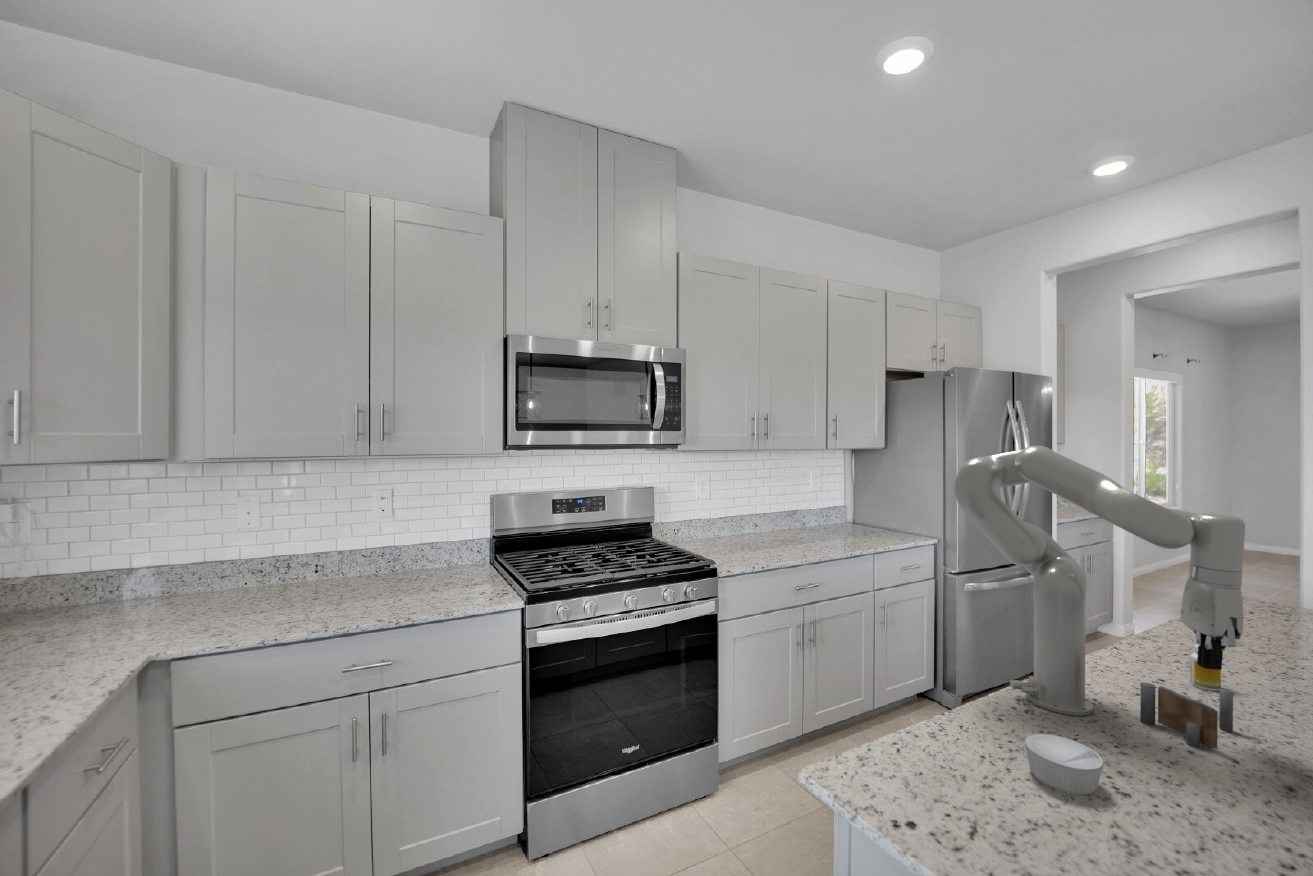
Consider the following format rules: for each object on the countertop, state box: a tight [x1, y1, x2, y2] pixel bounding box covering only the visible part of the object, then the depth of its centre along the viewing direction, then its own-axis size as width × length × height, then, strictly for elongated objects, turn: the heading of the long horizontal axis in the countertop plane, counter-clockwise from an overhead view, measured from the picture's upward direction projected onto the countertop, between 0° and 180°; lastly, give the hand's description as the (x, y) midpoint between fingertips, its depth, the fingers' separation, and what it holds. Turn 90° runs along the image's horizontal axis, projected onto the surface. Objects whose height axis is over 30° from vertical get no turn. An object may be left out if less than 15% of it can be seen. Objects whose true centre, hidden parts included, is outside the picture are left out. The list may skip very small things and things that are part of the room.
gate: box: [1157, 685, 1219, 749], centre depth 115 cm, size 10×2×8 cm, turn 8°
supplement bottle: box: [1189, 643, 1222, 692], centre depth 140 cm, size 5×5×10 cm
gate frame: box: [1139, 681, 1202, 749], centre depth 117 cm, size 2×11×8 cm, turn 7°
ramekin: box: [1024, 733, 1104, 795], centre depth 100 cm, size 11×11×5 cm
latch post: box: [1218, 688, 1234, 733], centre depth 118 cm, size 2×2×8 cm
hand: (1209, 667), depth 114 cm, fingers closed
